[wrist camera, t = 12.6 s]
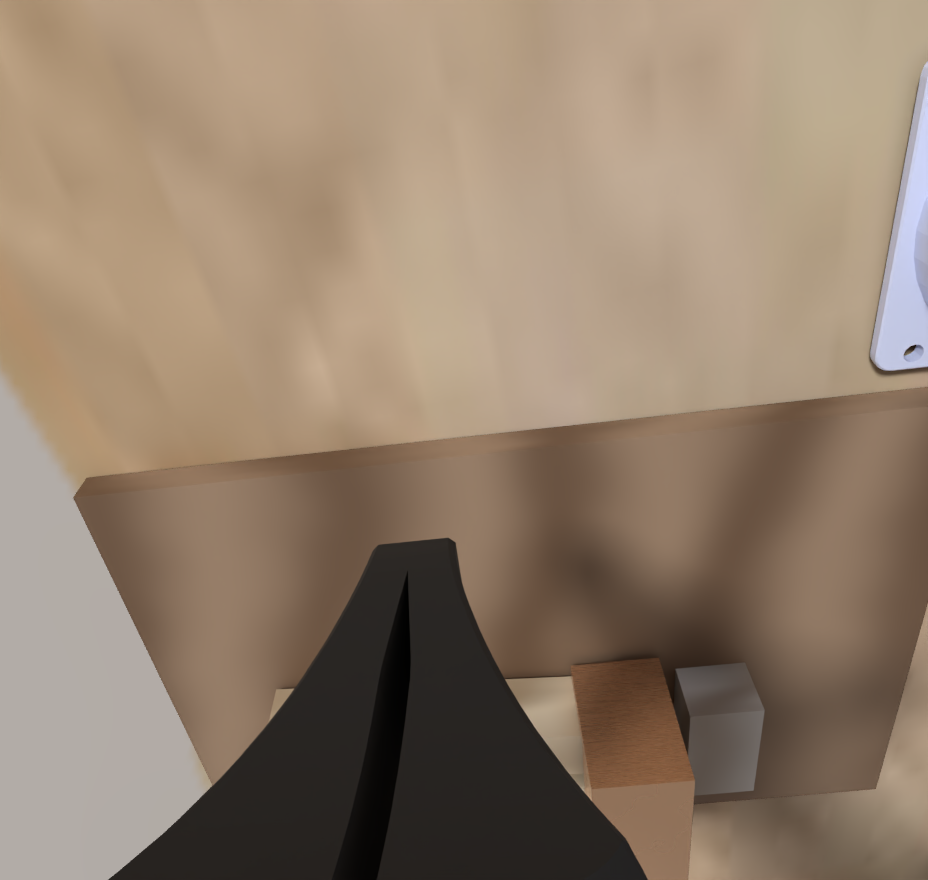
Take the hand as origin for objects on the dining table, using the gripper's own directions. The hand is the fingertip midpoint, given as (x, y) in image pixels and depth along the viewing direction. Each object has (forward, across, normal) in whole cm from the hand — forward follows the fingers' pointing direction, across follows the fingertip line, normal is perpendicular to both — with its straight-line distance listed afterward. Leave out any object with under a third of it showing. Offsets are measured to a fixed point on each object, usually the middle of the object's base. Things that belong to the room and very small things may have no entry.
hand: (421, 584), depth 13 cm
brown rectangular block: (+8, -5, +15) cm, 18 cm away
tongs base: (+9, -2, +12) cm, 15 cm away
